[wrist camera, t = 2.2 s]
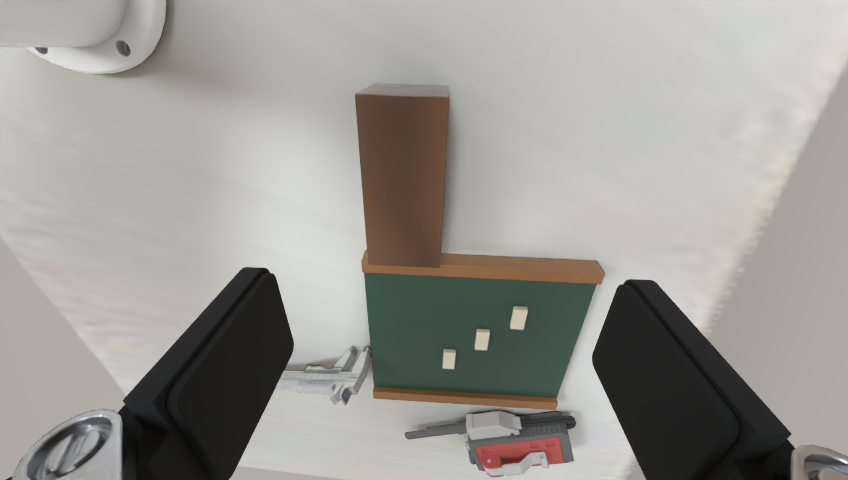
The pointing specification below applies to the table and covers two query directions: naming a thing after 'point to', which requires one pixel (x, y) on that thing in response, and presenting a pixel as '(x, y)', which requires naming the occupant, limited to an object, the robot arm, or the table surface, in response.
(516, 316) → the chalk mark
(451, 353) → the chalk mark
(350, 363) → the caliper
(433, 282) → the chalkboard
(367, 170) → the eraser
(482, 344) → the chalk mark
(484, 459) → the toy chainsaw
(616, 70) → the table surface
